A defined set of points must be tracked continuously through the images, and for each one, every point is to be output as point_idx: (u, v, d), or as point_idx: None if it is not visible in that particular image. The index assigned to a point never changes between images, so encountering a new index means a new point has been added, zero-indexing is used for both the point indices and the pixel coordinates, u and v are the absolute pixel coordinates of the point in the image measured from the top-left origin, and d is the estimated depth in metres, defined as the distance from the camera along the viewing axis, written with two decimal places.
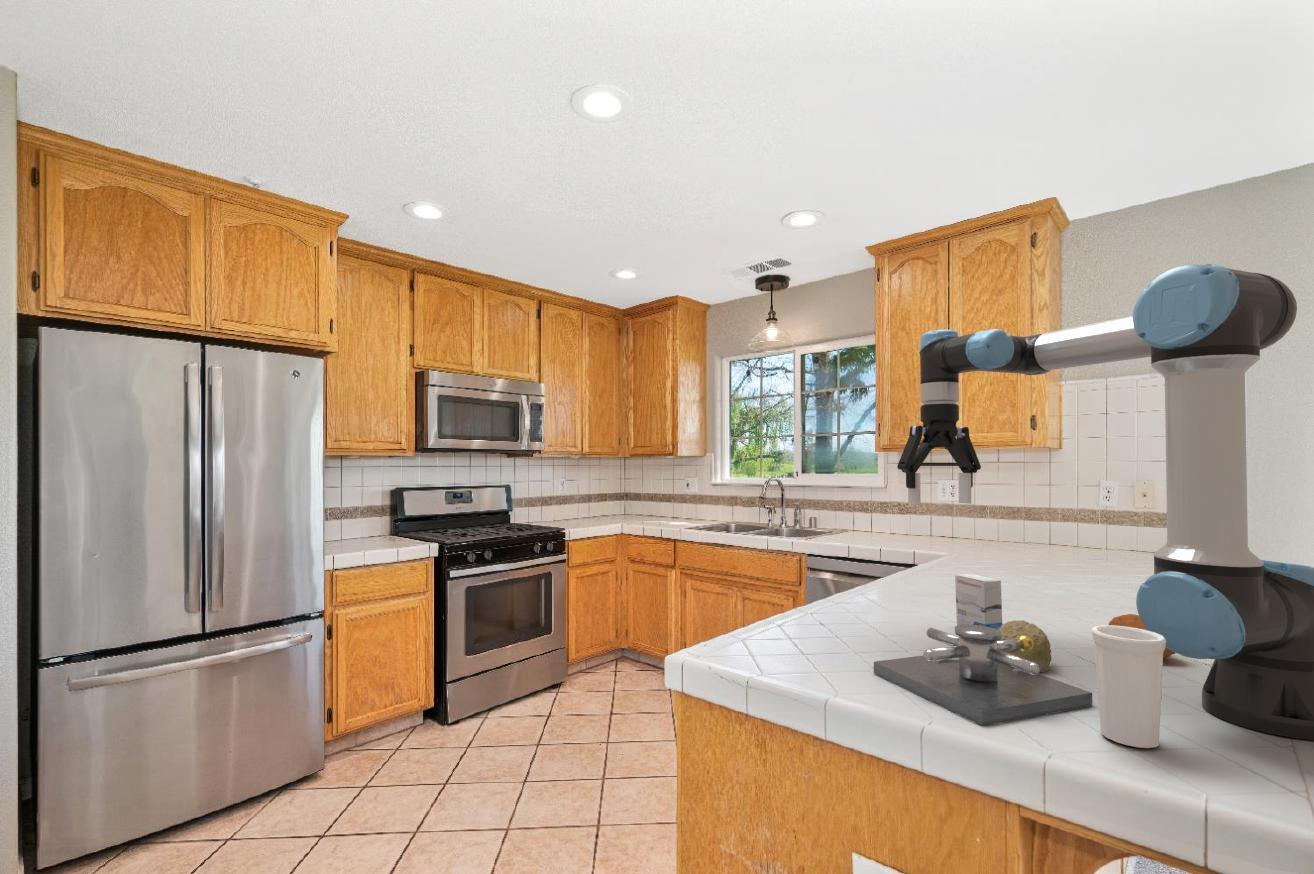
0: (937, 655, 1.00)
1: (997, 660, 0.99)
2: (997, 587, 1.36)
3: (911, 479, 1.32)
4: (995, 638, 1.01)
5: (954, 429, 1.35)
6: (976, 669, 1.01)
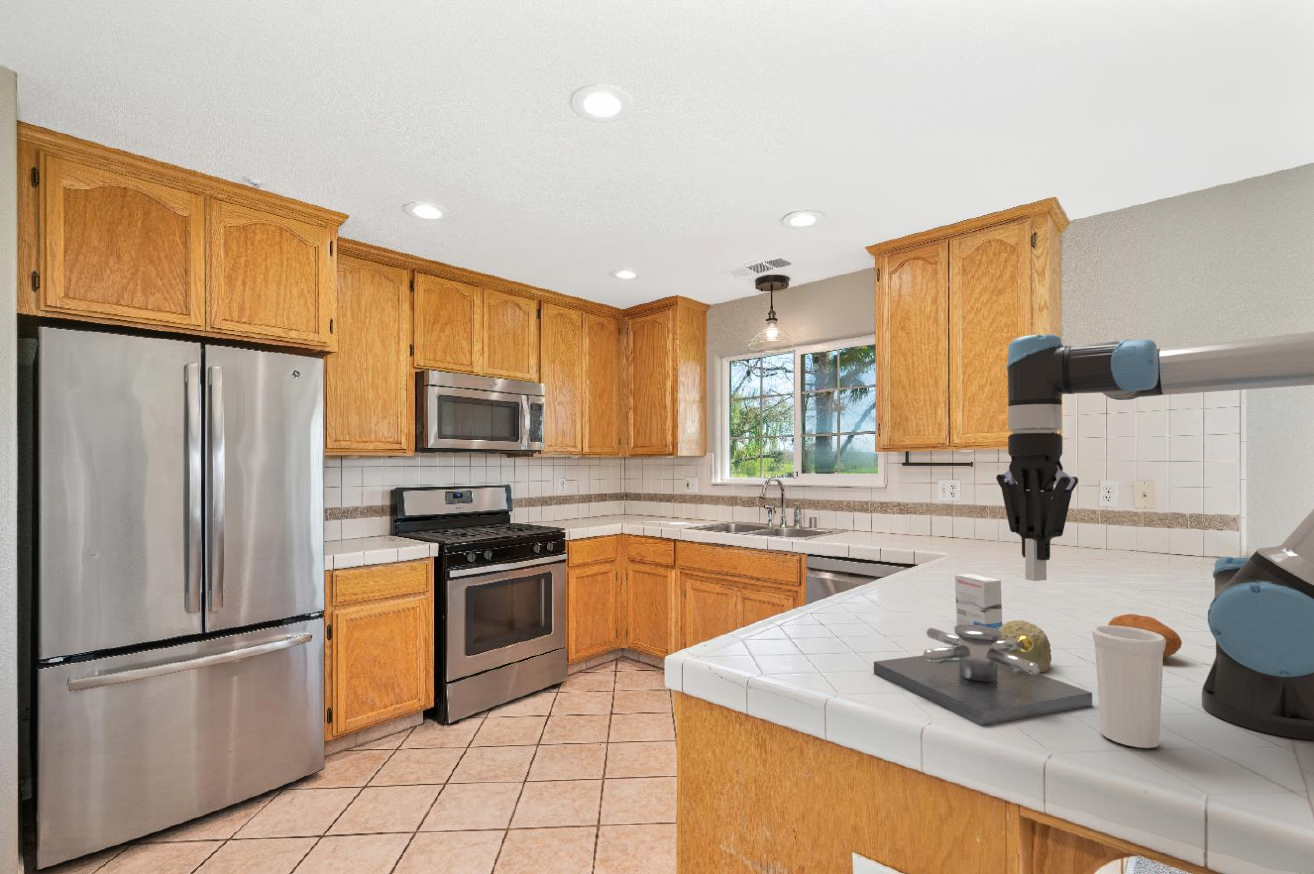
0: (937, 655, 1.00)
1: (997, 660, 0.99)
2: (997, 587, 1.36)
3: (1023, 545, 1.03)
4: (995, 638, 1.01)
5: (1048, 466, 0.99)
6: (976, 669, 1.01)
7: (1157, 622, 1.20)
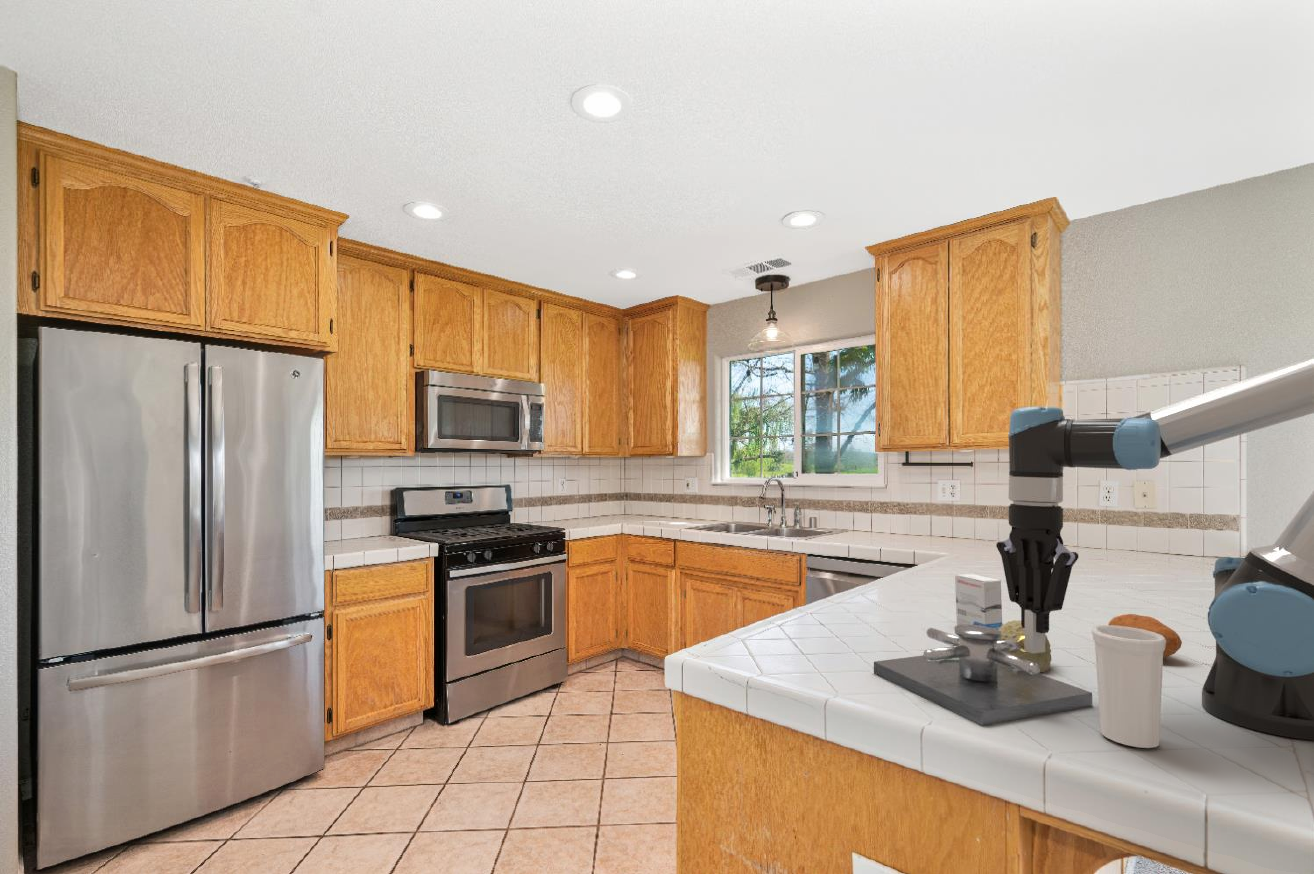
0: (937, 655, 1.00)
1: (997, 660, 0.99)
2: (997, 587, 1.36)
3: (1022, 616, 1.03)
4: (995, 638, 1.01)
5: (1048, 540, 0.99)
6: (976, 669, 1.01)
7: (1157, 622, 1.20)
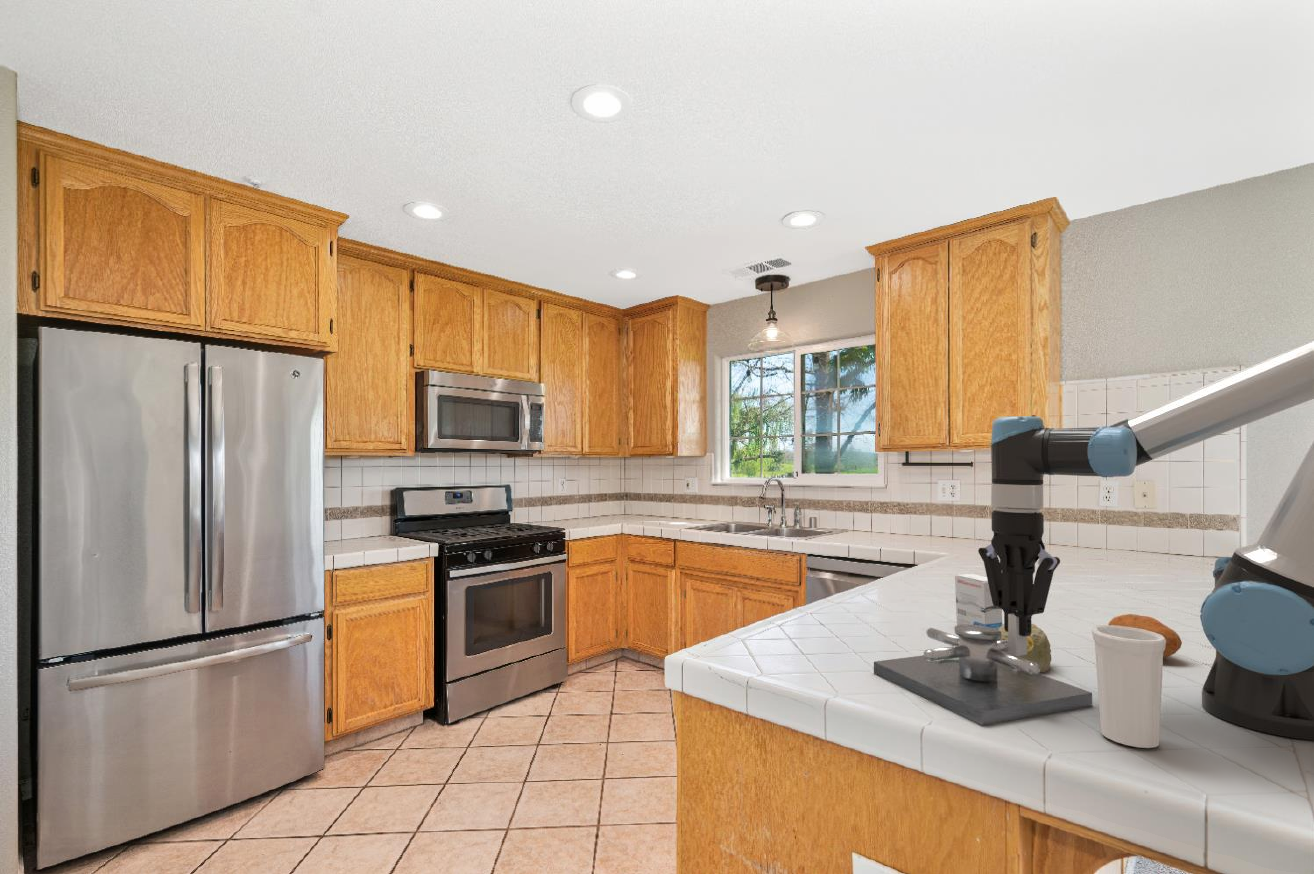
0: (937, 655, 1.00)
1: (997, 660, 0.99)
2: None
3: (1005, 620, 1.06)
4: (995, 638, 1.01)
5: (1031, 545, 1.02)
6: (977, 669, 1.01)
7: (1157, 622, 1.20)
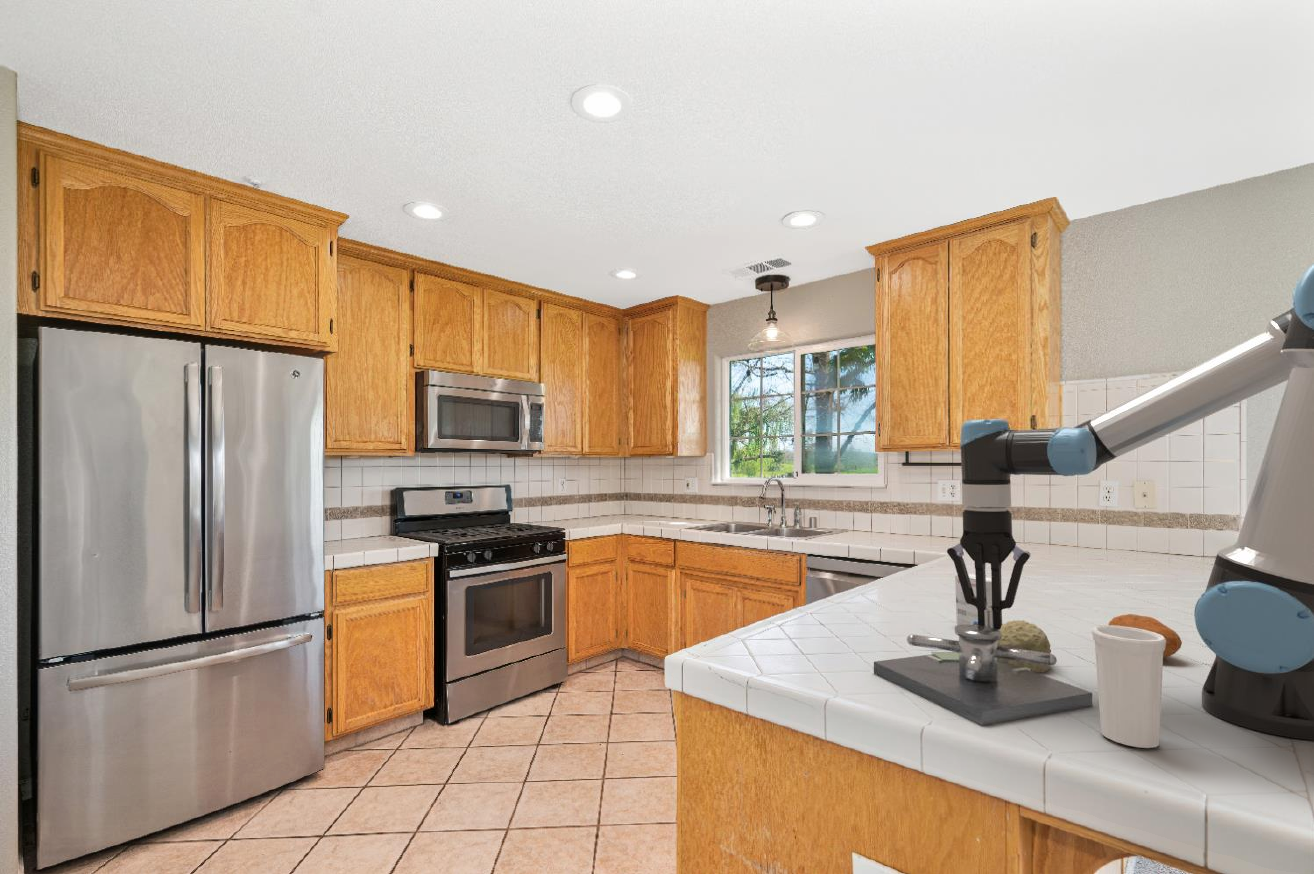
0: (980, 665, 0.95)
1: (1009, 657, 1.01)
2: None
3: (979, 616, 1.09)
4: None
5: (1007, 542, 1.07)
6: (989, 669, 1.01)
7: (1157, 622, 1.20)
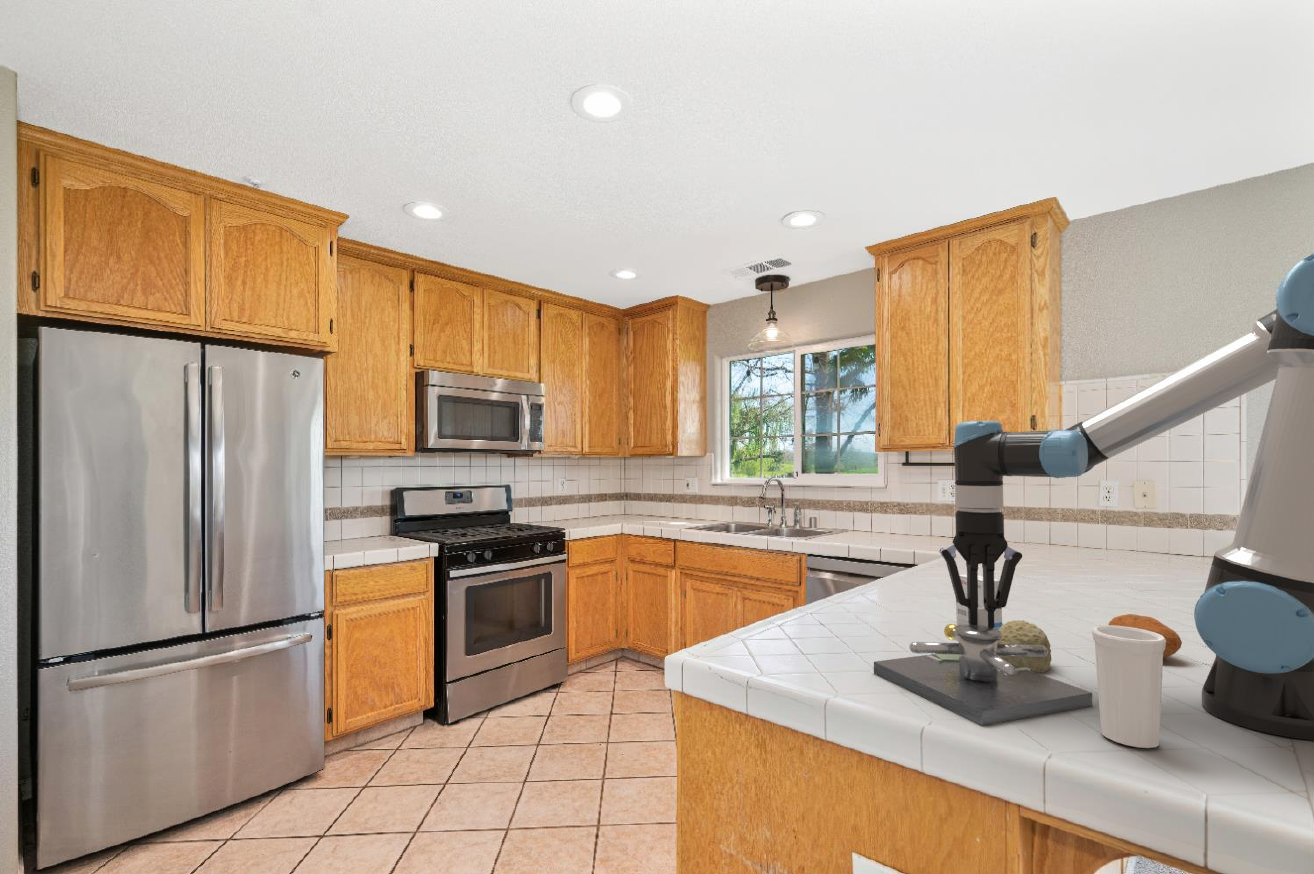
0: None
1: (1008, 653, 1.03)
2: (997, 587, 1.36)
3: (971, 617, 1.10)
4: None
5: (1001, 542, 1.09)
6: (995, 668, 1.01)
7: (1157, 622, 1.20)
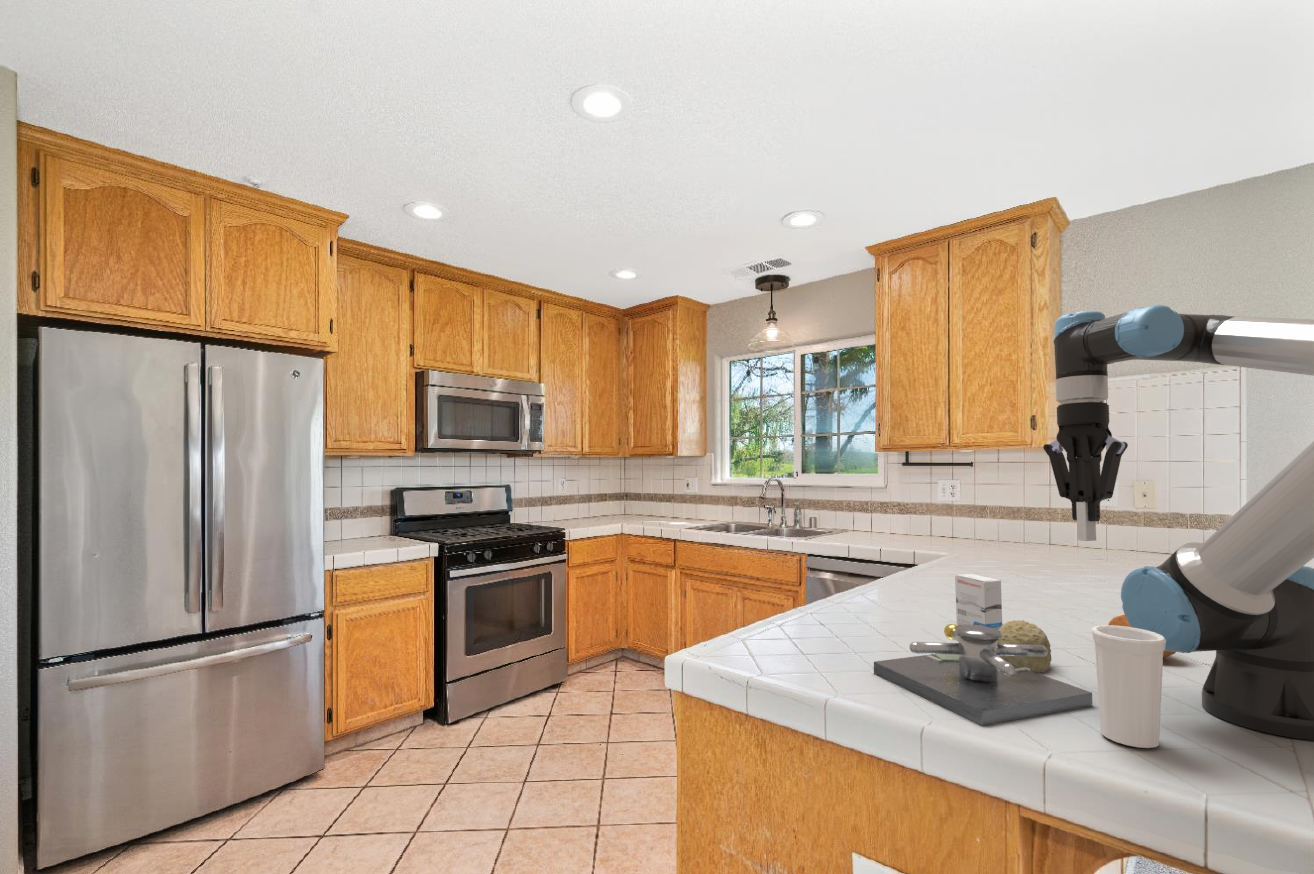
0: None
1: (1008, 653, 1.03)
2: (997, 587, 1.36)
3: (1073, 509, 1.10)
4: None
5: (1098, 433, 1.06)
6: (995, 668, 1.01)
7: None
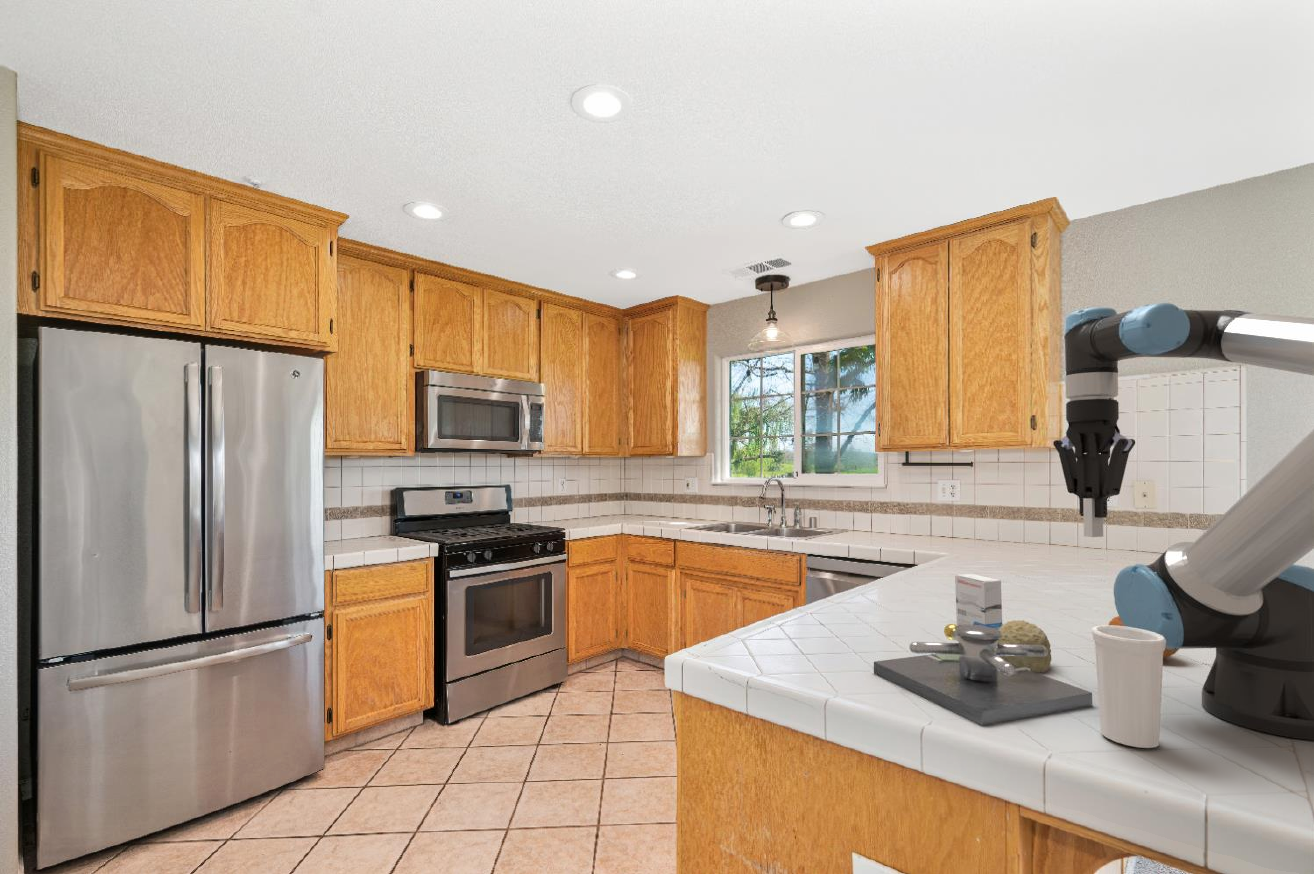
0: None
1: (1008, 653, 1.03)
2: (997, 587, 1.36)
3: (1080, 505, 1.11)
4: None
5: (1106, 430, 1.07)
6: (995, 668, 1.01)
7: None
